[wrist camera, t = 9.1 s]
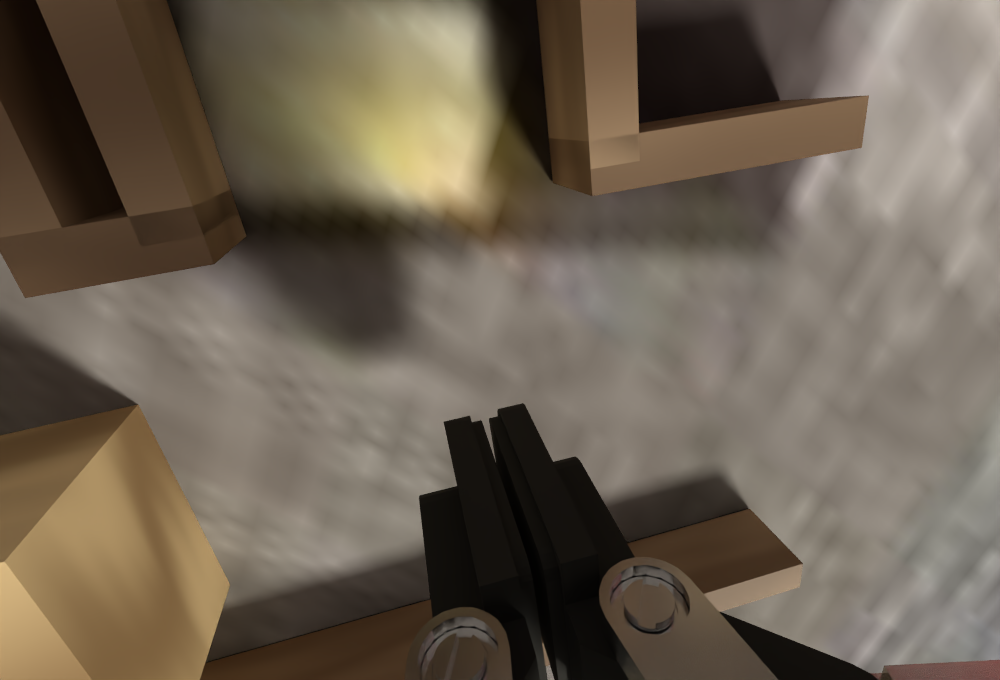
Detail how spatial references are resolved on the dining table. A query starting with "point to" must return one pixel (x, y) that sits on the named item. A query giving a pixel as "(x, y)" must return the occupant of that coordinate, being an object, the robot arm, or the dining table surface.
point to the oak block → (101, 557)
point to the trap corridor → (218, 228)
